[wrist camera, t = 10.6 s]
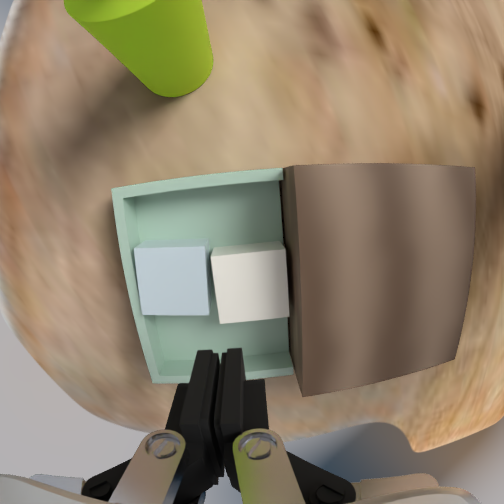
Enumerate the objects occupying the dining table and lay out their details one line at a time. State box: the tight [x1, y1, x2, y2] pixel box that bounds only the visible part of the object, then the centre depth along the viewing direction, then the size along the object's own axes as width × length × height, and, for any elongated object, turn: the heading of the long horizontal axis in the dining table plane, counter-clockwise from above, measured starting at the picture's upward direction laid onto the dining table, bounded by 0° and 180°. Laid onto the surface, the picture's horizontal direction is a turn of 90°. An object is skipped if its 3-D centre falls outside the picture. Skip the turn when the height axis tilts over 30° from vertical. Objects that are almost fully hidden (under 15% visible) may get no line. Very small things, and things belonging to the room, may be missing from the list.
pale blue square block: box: [134, 238, 212, 315], centre depth 22 cm, size 5×5×3 cm
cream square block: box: [211, 241, 289, 324], centre depth 22 cm, size 5×5×3 cm
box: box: [111, 168, 293, 383], centre depth 23 cm, size 12×16×3 cm
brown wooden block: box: [280, 163, 476, 397], centre depth 21 cm, size 14×16×6 cm
